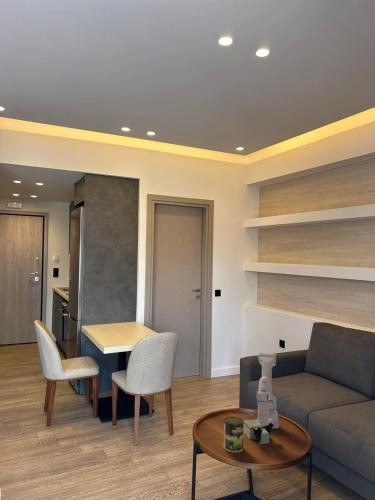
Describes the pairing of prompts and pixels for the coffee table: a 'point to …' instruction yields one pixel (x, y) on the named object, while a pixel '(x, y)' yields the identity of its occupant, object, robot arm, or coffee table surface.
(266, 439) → the end cover
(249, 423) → the housing
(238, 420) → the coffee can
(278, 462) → the coffee table surface
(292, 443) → the coffee table surface
